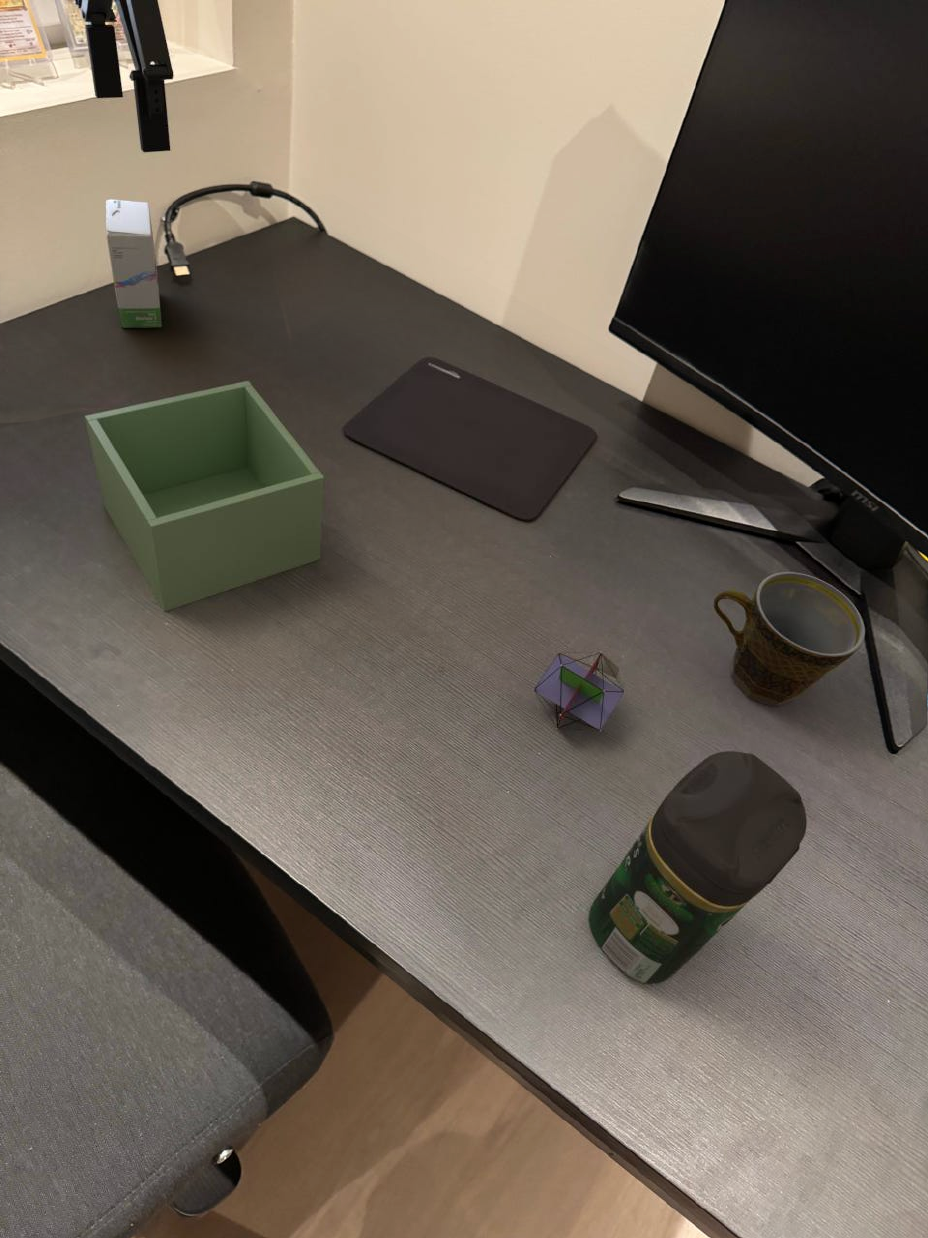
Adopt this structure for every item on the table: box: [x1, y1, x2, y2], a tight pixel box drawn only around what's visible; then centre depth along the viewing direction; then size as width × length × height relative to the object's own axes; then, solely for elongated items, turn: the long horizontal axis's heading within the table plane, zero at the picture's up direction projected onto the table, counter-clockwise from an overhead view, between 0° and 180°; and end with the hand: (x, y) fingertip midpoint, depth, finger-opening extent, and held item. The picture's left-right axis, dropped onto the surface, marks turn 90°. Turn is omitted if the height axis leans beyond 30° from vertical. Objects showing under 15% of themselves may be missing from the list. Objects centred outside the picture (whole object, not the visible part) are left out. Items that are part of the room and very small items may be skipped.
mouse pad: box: [342, 356, 597, 522], centre depth 100 cm, size 25×21×1 cm
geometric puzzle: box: [532, 651, 626, 732], centre depth 73 cm, size 7×7×8 cm
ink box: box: [105, 199, 163, 329], centre depth 101 cm, size 8×5×12 cm, turn 16°
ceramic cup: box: [713, 571, 866, 707], centre depth 79 cm, size 13×10×10 cm
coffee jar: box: [588, 750, 808, 985], centre depth 57 cm, size 10×8×19 cm
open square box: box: [84, 380, 325, 612], centre depth 79 cm, size 16×16×10 cm
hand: (131, 122), depth 88 cm, fingers open, 13 cm apart
